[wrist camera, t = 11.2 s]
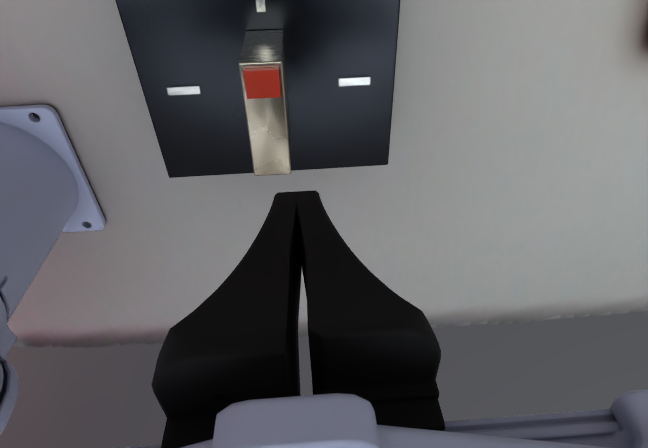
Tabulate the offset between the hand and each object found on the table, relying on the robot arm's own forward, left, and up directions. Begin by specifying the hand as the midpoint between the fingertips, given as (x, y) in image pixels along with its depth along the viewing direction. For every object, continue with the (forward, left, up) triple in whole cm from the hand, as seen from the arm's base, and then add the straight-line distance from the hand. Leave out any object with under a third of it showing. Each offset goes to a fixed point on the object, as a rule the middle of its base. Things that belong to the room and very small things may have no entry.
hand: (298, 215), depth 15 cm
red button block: (-1, +1, -7) cm, 8 cm away
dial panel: (-1, +2, -10) cm, 11 cm away
